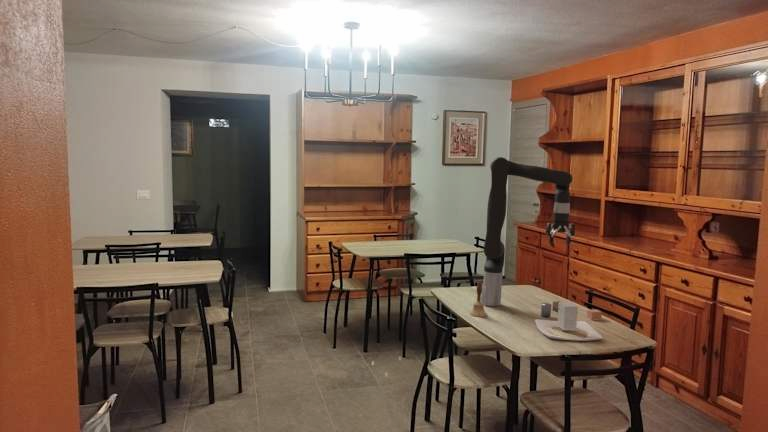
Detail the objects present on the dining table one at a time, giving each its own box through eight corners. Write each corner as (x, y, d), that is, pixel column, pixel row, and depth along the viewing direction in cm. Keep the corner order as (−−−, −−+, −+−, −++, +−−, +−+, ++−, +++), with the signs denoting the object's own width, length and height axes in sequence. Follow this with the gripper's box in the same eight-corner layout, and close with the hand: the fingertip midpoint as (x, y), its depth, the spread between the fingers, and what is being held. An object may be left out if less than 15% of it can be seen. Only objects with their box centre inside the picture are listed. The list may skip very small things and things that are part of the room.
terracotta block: (591, 320, 243) (592, 312, 243) (586, 317, 247) (587, 309, 247) (601, 320, 244) (601, 311, 244) (596, 317, 248) (596, 309, 247)
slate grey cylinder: (543, 317, 244) (544, 305, 244) (539, 315, 249) (540, 303, 248) (552, 317, 245) (553, 305, 245) (547, 315, 249) (548, 302, 249)
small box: (576, 330, 221) (578, 306, 219) (563, 330, 221) (564, 306, 219) (569, 324, 229) (571, 301, 227) (557, 324, 229) (558, 301, 227)
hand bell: (466, 312, 249) (467, 280, 248) (481, 311, 252) (482, 279, 251) (474, 317, 242) (476, 284, 240) (490, 316, 245) (492, 283, 243)
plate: (531, 324, 237) (531, 318, 237) (585, 326, 236) (585, 320, 236) (546, 342, 212) (546, 336, 212) (606, 345, 212) (606, 338, 211)
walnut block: (558, 313, 254) (559, 304, 253) (552, 310, 258) (552, 301, 257) (565, 312, 255) (566, 303, 255) (559, 309, 259) (560, 301, 259)
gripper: (551, 212, 250) (549, 245, 252) (578, 212, 253) (576, 245, 254) (544, 210, 258) (542, 242, 260) (571, 211, 260) (569, 243, 262)
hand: (559, 244), depth 257 cm, fingers open, 8 cm apart
